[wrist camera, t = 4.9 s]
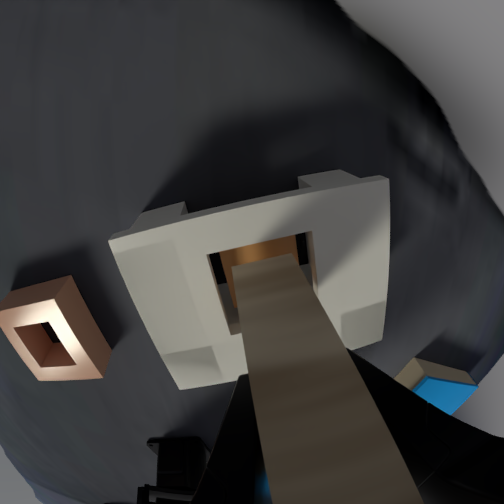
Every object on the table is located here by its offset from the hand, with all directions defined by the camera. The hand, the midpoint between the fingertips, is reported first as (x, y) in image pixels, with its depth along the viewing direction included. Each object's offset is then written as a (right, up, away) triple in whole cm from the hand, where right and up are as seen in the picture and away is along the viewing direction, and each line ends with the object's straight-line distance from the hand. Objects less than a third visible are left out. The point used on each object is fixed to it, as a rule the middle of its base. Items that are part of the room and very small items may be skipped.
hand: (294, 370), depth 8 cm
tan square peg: (-1, +2, +5) cm, 5 cm away
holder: (-16, -2, +10) cm, 19 cm away
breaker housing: (-1, +4, +9) cm, 10 cm away
